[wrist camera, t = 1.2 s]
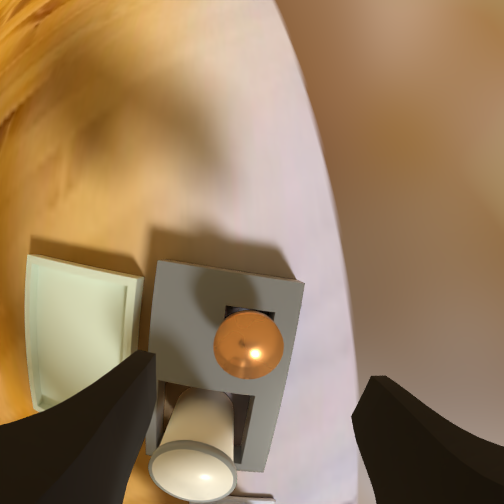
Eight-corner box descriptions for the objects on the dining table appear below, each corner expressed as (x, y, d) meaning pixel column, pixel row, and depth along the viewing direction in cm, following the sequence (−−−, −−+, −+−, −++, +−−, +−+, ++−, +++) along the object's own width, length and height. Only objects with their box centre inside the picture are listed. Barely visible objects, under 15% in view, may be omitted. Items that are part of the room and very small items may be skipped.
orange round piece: (270, 360, 18) (277, 382, 14) (214, 352, 18) (209, 374, 14) (279, 306, 18) (289, 319, 14) (222, 298, 18) (218, 308, 14)
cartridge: (232, 437, 20) (231, 506, 12) (172, 427, 20) (149, 492, 12) (240, 388, 20) (243, 454, 12) (176, 377, 20) (147, 437, 12)
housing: (260, 454, 20) (263, 472, 17) (153, 437, 19) (146, 454, 17) (296, 279, 20) (304, 283, 18) (167, 259, 20) (157, 260, 17)
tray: (136, 437, 19) (131, 447, 18) (42, 402, 19) (33, 408, 17) (144, 277, 19) (137, 278, 18) (38, 254, 19) (27, 254, 17)
